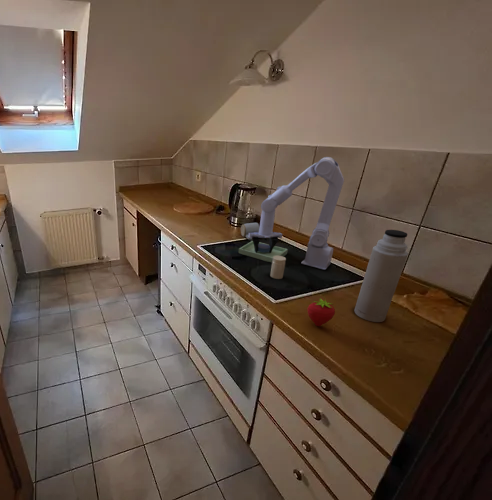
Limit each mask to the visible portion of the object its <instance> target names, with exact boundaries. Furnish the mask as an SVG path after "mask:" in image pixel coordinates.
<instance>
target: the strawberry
mask: <svg viewBox="0 0 492 500" xmlns="http://www.w3.org/2000/svg"><path fill="white" fill-rule="evenodd" d="M322 297H323V298H324V300H323V299H322V298H319V300H318V301H313V302H311V303H310V304H309V305H308V307H307V309H306V311H307V316H308V317H309V319H310V320H311V321H312V322H313V323H314V325H315V326H316V327H321V326H323V325H325V324H326V323H328V322H329V321H331V320H332V319H333V317H334V316H335V314H336V310H335V308H334V307H333V304H332V302H327V300H326V297H325V296H324V295H323V296H322Z"/></svg>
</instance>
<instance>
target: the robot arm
mask: <svg viewBox="0 0 492 500" xmlns="http://www.w3.org/2000/svg"><path fill="white" fill-rule="evenodd" d="M318 176H319V177H320V178H323V179H324V181H325V182H326V183H327V184H328V187H327V190H326V194H325V197H324V199H323V204H322V207H321V210H320V213H319V216H318V220H317V222H316V226H315V228H313V230H312V232H311V235H310V236H309V241H308V242H307V248H306V253H305V256H304V259H303V260H302V261H301V263H300V264H302V265H306V266H309V267H313V268H317V269H320V270H324V271H325V270H327V269H328V268H329V266H330V265H331V264H332V263H331V262H332V258H333V254H334V247H332V246H329V243H328V239H329V236H330V230H329V228H330V225H331V222H332V219H333V216H334V213H335V210H336V207H337V204H338V200H339V198H340V194H341V192H342V189H343V185H344V182H345V178H344V174H343V173H342V170H341V168H340V165H339V162H337V161H336V159H334V158H333V157H331V156H324V157H322V158H321V159H319V160H318V161H316V162H315V163H313V164H311V165H310V166H308V167H307V168H306V169H304V170H303V171H302V172H300V174H299V175H298V176H296V177H295V178H294V179H293V180H292V181H291V182H289V183H288V184H287V185H286V184H285V185H283V184H282V185H281V186H280V185H279V186H277V188H276V190H275V191H274V192H273V193H271V194H268V196H267V198H266V199H263V201H262V202H261V205H260V208H261V213H260V220H259V221H260V222H259V232H254V233H249V235H248V237H249V238H252V240H253V243H254V248H255V252H256V253H257V252H258V245H259V242H260V240H259V239H263V238H264V239H269V243H268V244H269V246H270V251H269V253H271V252H272V249H273V248H274V246H276V245H277V243H278V242H279V239H283V233H281V232H275V231H273V229H274V225H275V223H274V222H275V217H276V209H277V208H278V206H281V205H282V204H283V203H284V202H285V201H287V200H288V199H289V198H290V197H292V196H293V191H294V190H295V189H297V188H298V187H300V186H301V185H302V184H303V183H305V182H306V181H307V180H309V179H312V178H313V179H314V178H316V177H318Z"/></svg>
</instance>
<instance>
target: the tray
mask: <svg viewBox="0 0 492 500" xmlns="http://www.w3.org/2000/svg"><path fill="white" fill-rule="evenodd" d="M259 244H266V245H269V243H265V242H261V241H259ZM288 251H289V249H288V248H286V247H285V248H284V247H280V246H276V245H275V246H274V248H273V249H272V252H271V253H269V252H259V251H258V252H257V253H256V252H255V248H254V243H253V241H251V240H250V242H247V243H246V244H244V245H243V246H240V247H239V248H238V254H240V255H243V256H247V257H250V258H254V259H258V260H260V261H264V262H268V263H271V264H272V260H273V256H283V257H285V256H286V255H287V254H288Z"/></svg>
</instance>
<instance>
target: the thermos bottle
mask: <svg viewBox="0 0 492 500" xmlns="http://www.w3.org/2000/svg"><path fill="white" fill-rule="evenodd" d="M407 237H408V233H407V232H406V231H403V230H398V229H385V231H384V234H383V237H382V238H381V239H378V240H377V242H376V245H374V246H373V247H372V250H371V253H370V257H369V260H368V264H367V267H366V270H365V273H364V277H363V280H362V283H361V287H360V290H359V294H358V297H357V300H356V303H355V307H354V313H355V315H356V316H358V317H359V318H361V319H363V320H366V321H369V322H373V323H382V322H384V321H385V320H386V318H387V315H388V313H389V310H390V306H391V303H392V300H393V298H394V295H395V292H396V289H397V287H398V284H399V280H400V278H401V275H402V272H403V270H404V267H405V264H406V261H407V259H408V256H409V252H408V251H407V250H408V244H407V243H406V238H407Z"/></svg>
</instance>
